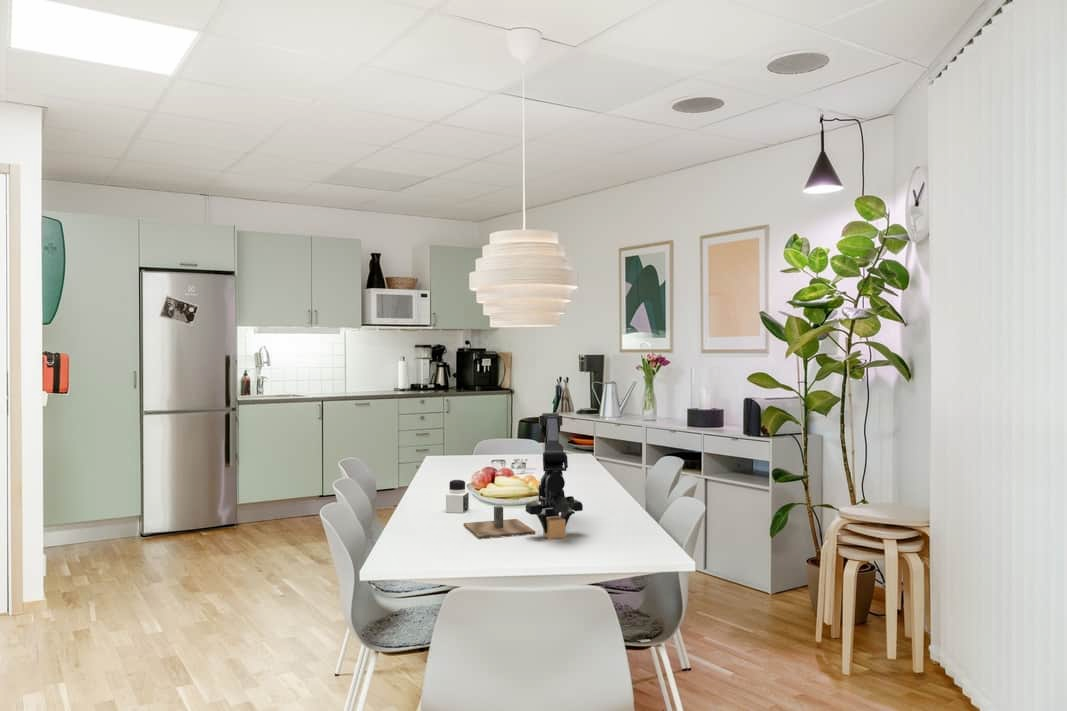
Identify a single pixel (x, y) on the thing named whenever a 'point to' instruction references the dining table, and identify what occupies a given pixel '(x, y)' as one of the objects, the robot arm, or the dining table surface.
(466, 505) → the medicine bottle
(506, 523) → the wooden base with peg
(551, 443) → the robot arm
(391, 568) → the dining table surface
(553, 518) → the peach wooden cube
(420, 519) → the dining table surface
